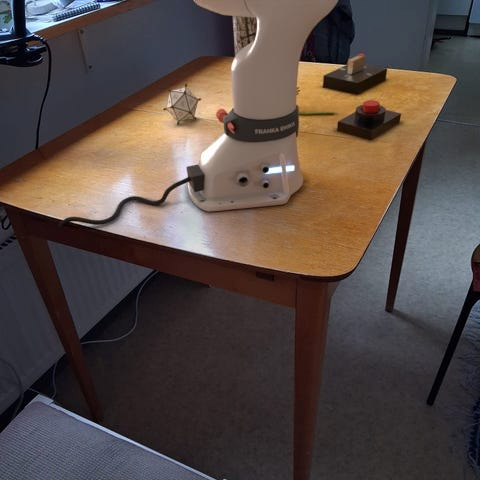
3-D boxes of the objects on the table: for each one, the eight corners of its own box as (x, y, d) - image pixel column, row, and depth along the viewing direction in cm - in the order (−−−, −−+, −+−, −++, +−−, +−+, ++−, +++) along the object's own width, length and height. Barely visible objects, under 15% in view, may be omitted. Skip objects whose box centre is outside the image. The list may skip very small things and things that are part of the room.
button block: (370, 140, 105) (373, 122, 102) (336, 130, 110) (338, 113, 107) (399, 123, 111) (402, 105, 108) (366, 114, 116) (368, 97, 113)
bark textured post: (265, 131, 112) (262, 5, 95) (236, 130, 113) (228, 6, 96) (269, 120, 117) (267, -2, 100) (242, 119, 118) (235, -1, 101)
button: (372, 115, 106) (373, 107, 105) (359, 111, 108) (359, 103, 107) (381, 110, 108) (382, 102, 107) (368, 106, 110) (369, 98, 109)
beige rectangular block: (352, 75, 128) (353, 59, 126) (347, 73, 129) (348, 58, 126) (363, 69, 131) (365, 54, 128) (358, 68, 132) (360, 53, 129)
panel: (356, 95, 126) (358, 82, 123) (322, 87, 131) (323, 74, 129) (385, 80, 132) (387, 67, 130) (352, 73, 138) (353, 61, 136)
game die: (179, 137, 122) (149, 106, 116) (194, 113, 125) (165, 82, 119) (199, 126, 115) (168, 93, 110) (214, 101, 118) (185, 68, 112)
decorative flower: (335, 80, 113) (272, 82, 115) (334, 106, 113) (271, 108, 115) (333, 96, 121) (273, 98, 123) (332, 121, 121) (273, 123, 123)
